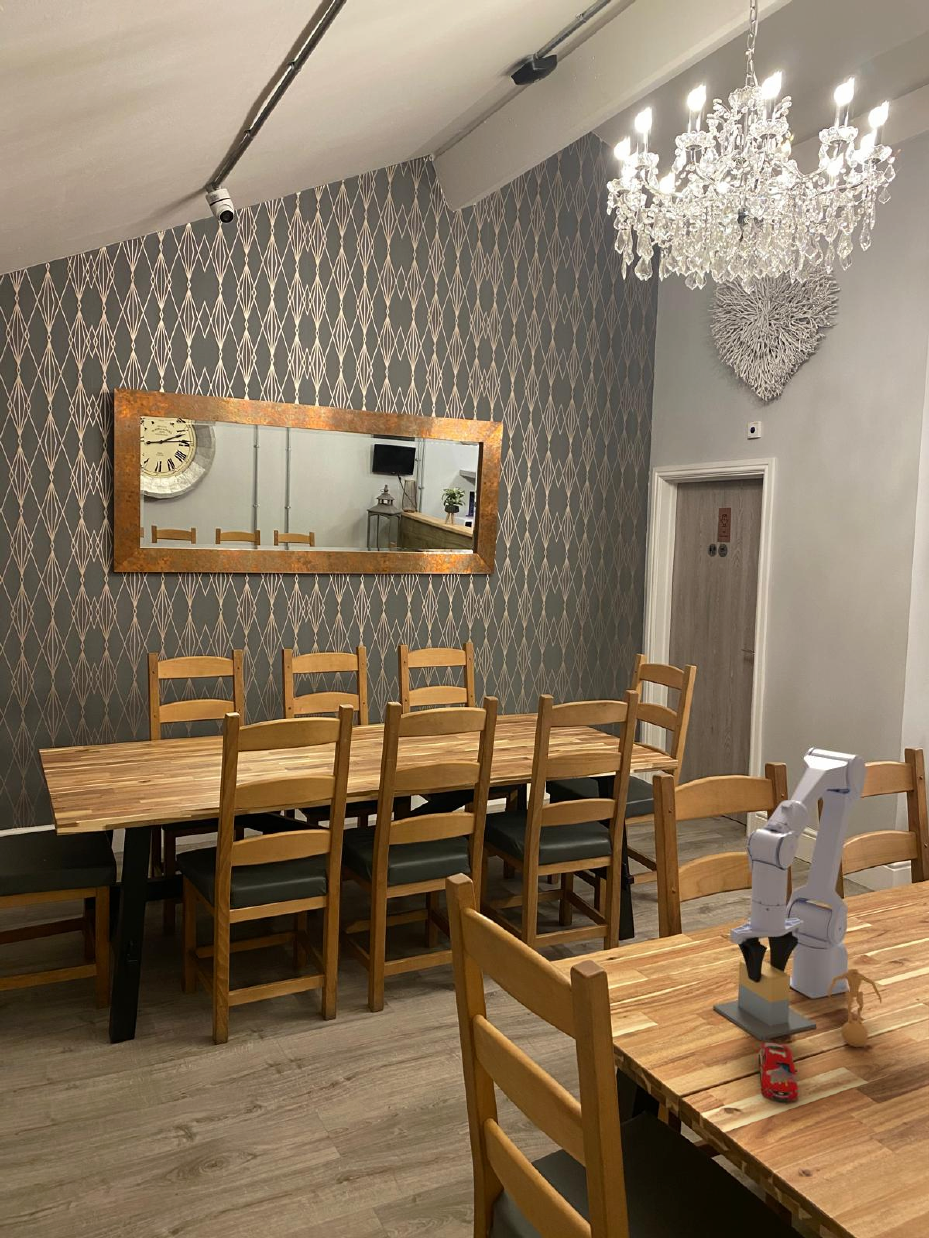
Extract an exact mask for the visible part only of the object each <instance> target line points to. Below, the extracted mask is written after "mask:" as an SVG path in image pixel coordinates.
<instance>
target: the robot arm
mask: <svg viewBox="0 0 929 1238" xmlns="http://www.w3.org/2000/svg"><path fill="white" fill-rule="evenodd" d="M866 777H867V768H866V763H865V760H864V759H863V757H862V756H861V755H860V754H856V753H855V754H851V753H845V752H839V751H832V750H828V749H827V750H825V749H821V748H817V747H811V748H809V749H808V751H807V752H805V754H804V756H803V760H802V777H801V779H800V780H799V782H798V784H797V787H796V788H795V790H794V792H793V794H792V796H791V798H790V800H787V799H786V800H782V801H781V802H780V803H779V804H778V806H777V807H776V809H775V810H774V811H773V813H772V815H771V816H770V817H769V819H768V820H767V821H766V823H765V824H764V826H763V827H762V828H758V829H756V830H753V831H752V832H751V833H750V835H749V837H748V840H747V845H746V847H745V849H746V855H747V858H748V865H749V866H748V867H749V868H748V869H749V871H750V872H752V874H751V899H750V917H748V918H747V922H746V923H744V924H742V925H740V926H737V927H734V928H731V929H730V932H729V933H730V934H729V935H730V936H729V941H731V942H733V943H734V944H736V945H737V946H738V947H739V950H740V951H741V954H742V956H743V960H745V964H746V968H747V973H748V978H749V979H751V980H752V981H754V982H756V983H757V982H760V978H761V969H762V962H763V961H764V957H765V954H766V952H767V950H768V947H767V946H765V945H763V944H762V943H761V941H760V939H764V938H767V940H768V943H769V944H768V945H769V951H770V952H769V954H770V955H769V957H770V958H769V959H770V960H769V961H770V962H769V964H770V965H772V966H773V967H775V968H777V969H779V970H781V971H782V972H784V973H785V970H786V967H787V964H788V960H789V959H790V957H791V954H792V972H791V976H790V987H791V988H792V989H794V990H796V991H797V992H799V993H801V994H803V995H805V996H806V997H808V998H810V999H813V1000H814V999H818V998H823V997H829V995H828V991H829V989H830V986H831V984H832V981H833V979H834V978H835V977H836V976H839V975H842V974H844V973H847V972H848V962H849V961H848V960H849V957H848V956H849V955H848V950H847V948H846V945H845V944H844V943H843V941H844V940H845V936H846V934H847V929H848V920H847V919H848V918H847V917H848V905H847V904H846V902H845V900H843V899H842V898H841V896H840V895H839V894H838V893H837V891H836V886H837V882H838V878H839V877H838V875H839V872H840V866H841V861H842V857H843V851H844V847H845V841H846V836H847V831H848V826H849V821H850V817H851V813H852V808H853V804H854V803H857V802H859V801H861V800H862V799H861V798H862V795H863V792H864V788H865V787H864V786H865V783H866V782H865V781H866ZM820 799H822V801H823V802H822V803H823V804H822V808H821V814H820V818H819V823H818V827H817V832H816V833H817V834H816V838H815V843H814V848H813V852H812V857H811V862H810V867H809V871H808V876H807V880H806V881H807V882H806V884H804V885H801V886H800V887H798V888H796V889H793V891H792V892H791V894H790V898H789V901H788V904H787V896H788V895H787V893H788V890H787V889H788V872H789V871H788V870H789V869H788V868H789V867H790V866H792V864H793V862H794V860H795V856H796V851H797V849H798V846H799V844H798V841H799V839H800V837H802V834H803V832H805V830H806V829H807V827H808V825H809V824H810V822H811V816H810V813H809V812H810V811H811V810H812V808H813V807H814V806H815V805H816V803H818V801H819V800H820ZM809 901H813V902H816V903H820V904H824V905H826V906H823V905H820V904H815V903H811V902H809ZM827 906H828V907H827ZM847 984H848V981H847V979H846V978H844V979H840V980H836V982H835V984H834V987H833V989H832V990H831V993H832V994H831V995H836V994H840V993H846V990H849V992H850V987H849V986H848V985H847ZM831 995H830V996H831Z"/></svg>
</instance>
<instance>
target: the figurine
mask: <svg viewBox="0 0 929 1238" xmlns="http://www.w3.org/2000/svg"><path fill="white" fill-rule="evenodd" d="M844 978H846V979H847V984H848V987H849V988H850V991H849V990H846V992H845V1001H846V1005H847V1007H846V1009H847V1013H848V1014H847V1015H848V1019H847V1021H846V1022H845V1023H844V1024H842V1028H841V1036H842V1039H843V1040H844V1042H845V1043H846V1044H847V1045H849V1046H851V1047H852V1048H853V1047H854V1048H860V1047H863V1046H864V1045H865V1044H866V1043H867V1041H868V1039H869V1033H868V1030H867V1027H865V1025H864V1024H863V1023H862V1019H861V1018H862V1017H861V1012H862V1011H863V1008H864V997H863V996H864V992H863V991H862V990H861V991H859V989H860V986H861V985H862V981H864V982H866V983H868V984H870V985H871V986H872V988H873V990H874V992H875V993H876V995H877V996H878V1001H879V1003H880V1004H882V996H881V993H880V992H879V990H878V988H877V985H876V983H875V982H874V981H873V980H871V979H870V978H868V977H867V976H865V975H864V974H862V973H860V972H859V970H858V969H856V968H855V969H854V968H851V969H849V970H847V973H844V974H842V975H839V976H836V977H835V978H834V979H833V981H832V984H831V986H830V989H829V991H828V996H831V994H832V993H831V990H832V989H833V987H834V984H835V982H836V980H840V979H844ZM832 995H833V994H832ZM854 998H856V999H855V1000H856V1003H857V1004H858V1007H857V1015H856V1017H857V1019H856V1020H854V1019H853V1017H852V1004H853V1002H854Z"/></svg>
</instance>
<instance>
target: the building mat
mask: <svg viewBox="0 0 929 1238" xmlns="http://www.w3.org/2000/svg"><path fill="white" fill-rule="evenodd" d="M712 1009H713V1010H714V1011H715V1012H717V1013H719V1014H720V1015H722V1016H723V1017H724V1018H726V1019H727V1020H729V1021H731V1022H732V1023H734V1024H735V1025H737V1026H738V1027H739V1028H741V1029H743V1030H744V1031H745V1032H747V1033H749V1034H750V1035H752V1036H753V1037H755V1038H756V1039H758V1040H760V1041H765V1040H770V1039H774V1038H777V1037H782V1036H785V1035H790V1034H794V1033H799V1032H803V1031H807V1030H811V1029H816V1028H817V1023H816V1022H813V1021H812V1020H811V1019H808V1018H807V1017H805V1016H804V1015H803V1014H800V1013H799V1012H798V1011H795V1010H794V1009H792V1008H790V1007H789V1020H788V1022H786V1023H782V1024H778V1025H773V1026H769V1025H767V1024H766V1023H764V1022H763V1021H761V1020H760V1019H758V1018H756V1017H755V1016H753V1015H752V1014H750V1013H749V1012H747V1011H745V1010H744V1009H742V1008H741V1007H739V1006H738V999H737V1000H733V1001H728V1002H723V1003H719V1004H714V1005H712Z"/></svg>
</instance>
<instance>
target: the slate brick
mask: <svg viewBox="0 0 929 1238" xmlns="http://www.w3.org/2000/svg"><path fill="white" fill-rule="evenodd" d="M737 992H738V995H737V998H738V999H737V1000H738V1006H739V1007H741V1008H742V1009H744V1010H745V1011H747V1012H749V1013H750V1014H752V1015H753V1016H755V1017H756V1018H758V1019H760V1020H761V1021H763V1022H764V1023H766V1024H767V1025H769V1026H773V1025H778V1024H782V1023H786V1022H788V1020H789V1008H790V998H789V999H786V1000H782V1001H777V1002H772V1003H770V1002H769V1001H767V1000H765V999H764V998H762V997H761V996H759V995H757V994H756V993H754V992H752V991H751V990H749V989H747V988H746V987H744V986H742V985H741V984H739V983H738V991H737Z"/></svg>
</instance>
